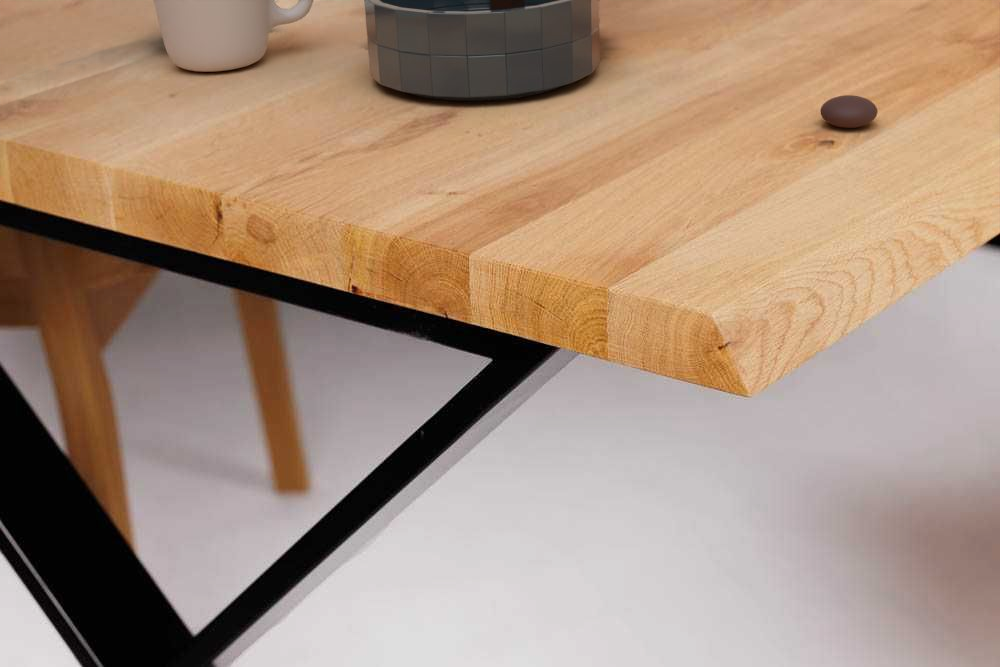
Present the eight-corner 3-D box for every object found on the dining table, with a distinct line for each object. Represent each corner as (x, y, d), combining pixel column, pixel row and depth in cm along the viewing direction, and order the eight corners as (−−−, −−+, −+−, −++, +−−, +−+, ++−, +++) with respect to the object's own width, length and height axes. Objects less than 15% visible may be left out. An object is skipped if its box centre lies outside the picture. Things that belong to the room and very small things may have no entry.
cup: (309, 39, 101) (297, -78, 98) (332, 65, 94) (320, -60, 91) (153, 56, 98) (135, -63, 95) (165, 85, 91) (146, -43, 88)
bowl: (518, 119, 81) (514, 22, 79) (325, 90, 89) (316, 0, 86) (639, 60, 92) (639, -27, 90) (457, 38, 99) (453, -43, 97)
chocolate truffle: (818, 133, 77) (820, 104, 76) (820, 116, 80) (821, 88, 79) (876, 134, 76) (878, 105, 76) (876, 118, 79) (878, 90, 78)
